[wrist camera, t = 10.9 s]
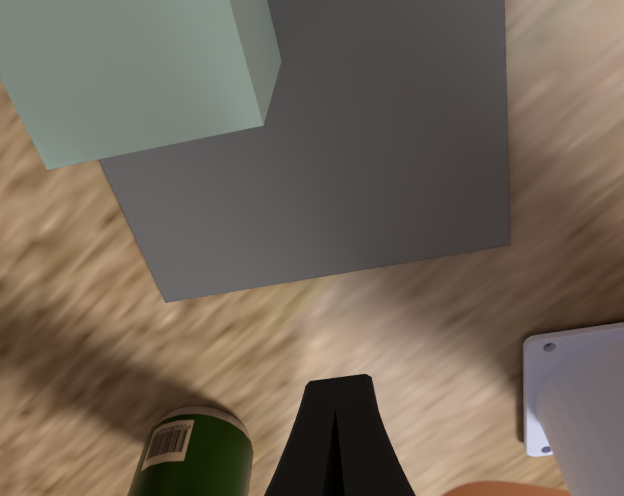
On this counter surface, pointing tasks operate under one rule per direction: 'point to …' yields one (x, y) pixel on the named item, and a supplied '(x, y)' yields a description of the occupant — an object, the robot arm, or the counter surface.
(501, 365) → the counter surface
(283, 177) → the rubber mat
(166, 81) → the pale green block
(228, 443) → the beer can
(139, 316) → the counter surface
